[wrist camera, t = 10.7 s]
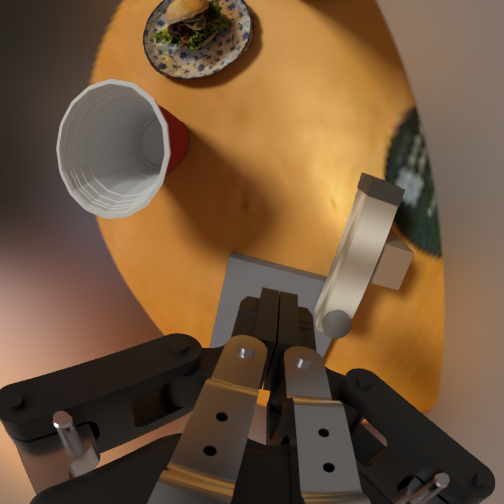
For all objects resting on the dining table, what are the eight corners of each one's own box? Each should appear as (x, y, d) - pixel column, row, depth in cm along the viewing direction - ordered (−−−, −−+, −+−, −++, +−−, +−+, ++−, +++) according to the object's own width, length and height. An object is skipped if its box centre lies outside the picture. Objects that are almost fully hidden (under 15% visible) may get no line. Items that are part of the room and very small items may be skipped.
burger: (139, 79, 29) (104, 69, 22) (161, -10, 24) (134, -36, 18) (244, 88, 28) (232, 74, 21) (265, -7, 24) (259, -39, 17)
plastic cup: (103, 140, 31) (33, 149, 20) (171, 74, 28) (114, 50, 17) (157, 211, 34) (101, 248, 23) (232, 150, 31) (201, 158, 19)
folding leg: (339, 315, 34) (346, 342, 29) (313, 309, 34) (316, 335, 29) (390, 182, 28) (408, 191, 24) (361, 172, 28) (375, 179, 24)
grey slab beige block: (246, 190, 32) (237, 202, 26) (394, 233, 32) (414, 253, 26) (210, 347, 40) (199, 377, 34) (330, 375, 39) (334, 407, 34)
